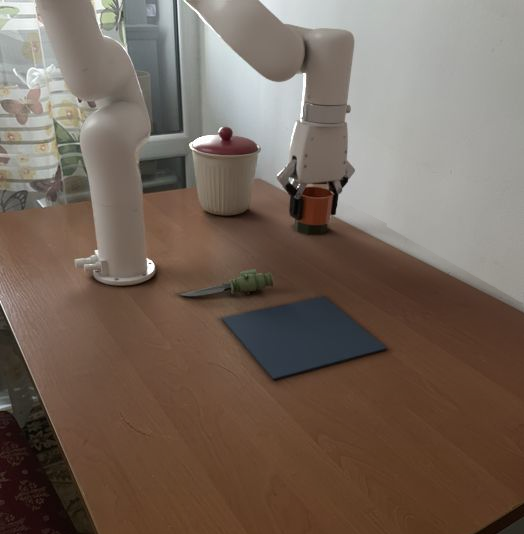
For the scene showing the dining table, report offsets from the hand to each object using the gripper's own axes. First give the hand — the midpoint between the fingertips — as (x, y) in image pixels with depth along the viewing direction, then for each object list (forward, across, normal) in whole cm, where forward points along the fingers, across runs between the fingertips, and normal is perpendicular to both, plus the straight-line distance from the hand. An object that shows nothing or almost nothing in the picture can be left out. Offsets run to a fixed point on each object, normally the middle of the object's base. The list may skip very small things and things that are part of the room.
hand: (312, 214), depth 102 cm
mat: (+16, +10, +14) cm, 23 cm away
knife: (+16, +15, -5) cm, 23 cm away
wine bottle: (+16, -19, -28) cm, 38 cm away
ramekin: (+1, 0, 0) cm, 1 cm away
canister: (+16, -5, -48) cm, 51 cm away
